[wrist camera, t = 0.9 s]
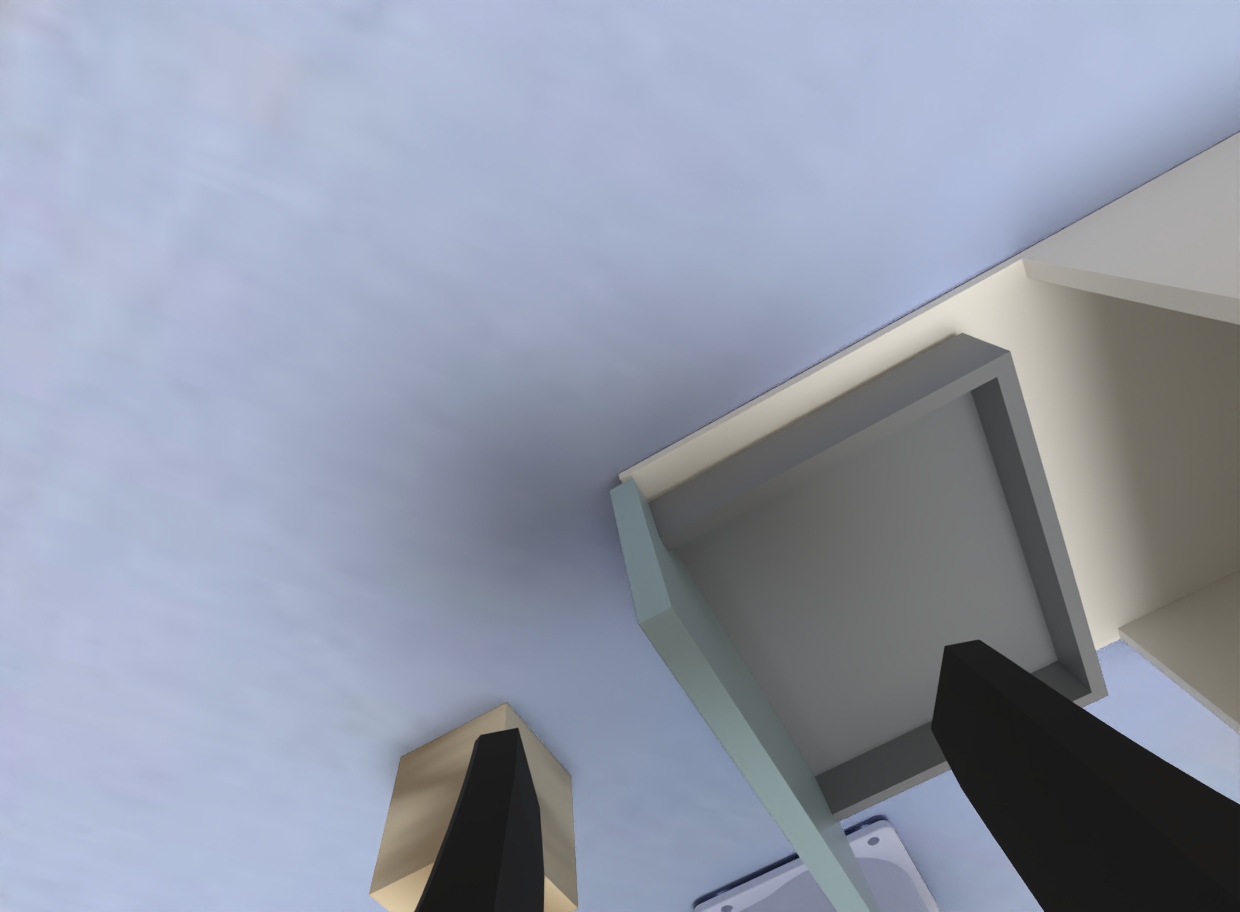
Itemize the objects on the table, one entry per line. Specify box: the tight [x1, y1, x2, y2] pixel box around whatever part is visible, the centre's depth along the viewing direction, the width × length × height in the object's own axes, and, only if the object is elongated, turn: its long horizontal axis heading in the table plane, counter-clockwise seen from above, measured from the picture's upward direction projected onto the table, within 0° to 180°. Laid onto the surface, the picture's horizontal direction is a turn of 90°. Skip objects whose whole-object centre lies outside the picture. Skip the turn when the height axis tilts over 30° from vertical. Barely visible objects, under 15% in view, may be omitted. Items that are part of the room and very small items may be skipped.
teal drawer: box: [609, 333, 1108, 912], centre depth 19 cm, size 11×16×6 cm
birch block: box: [369, 702, 578, 912], centre depth 22 cm, size 4×4×5 cm
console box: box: [618, 132, 1240, 735], centre depth 18 cm, size 24×16×9 cm, turn 119°
